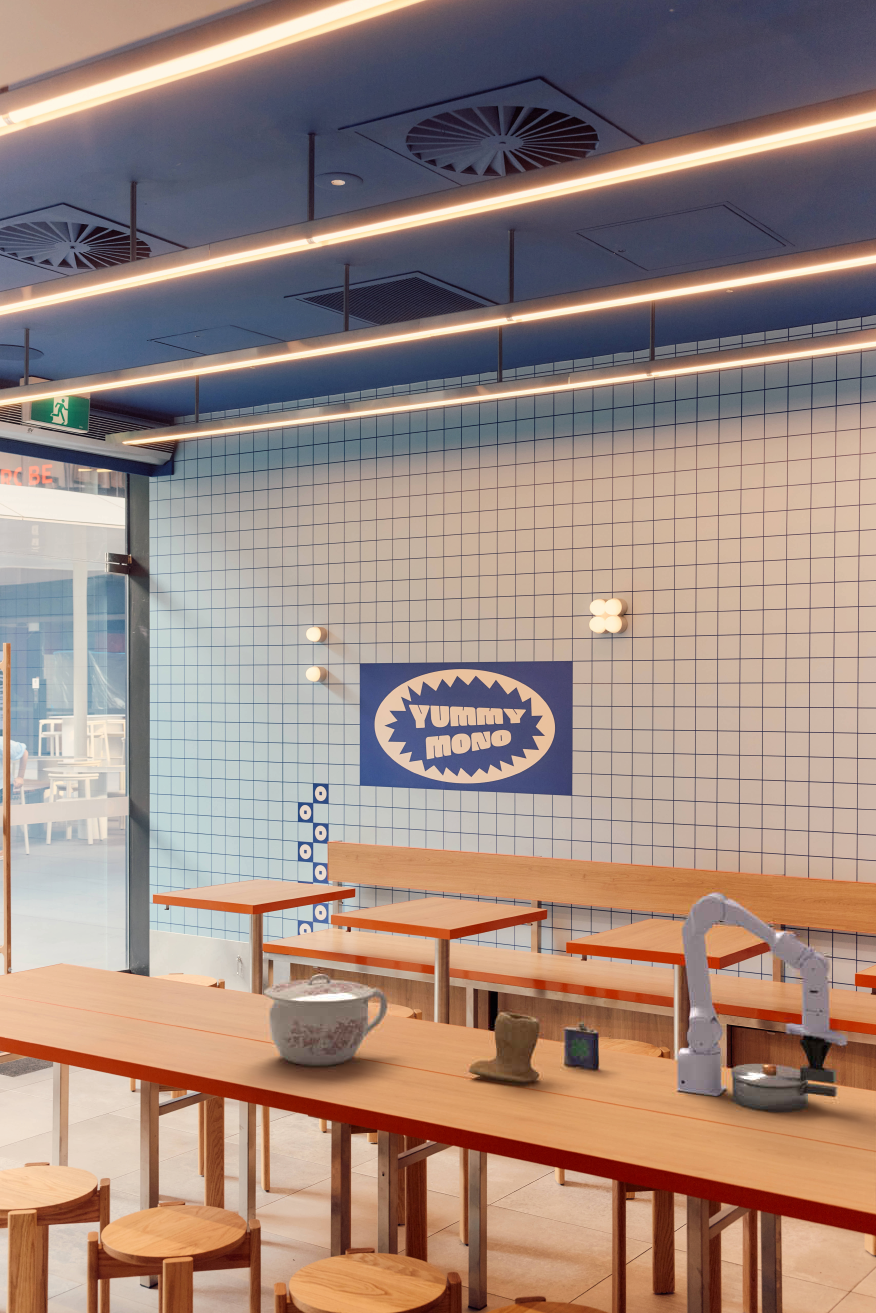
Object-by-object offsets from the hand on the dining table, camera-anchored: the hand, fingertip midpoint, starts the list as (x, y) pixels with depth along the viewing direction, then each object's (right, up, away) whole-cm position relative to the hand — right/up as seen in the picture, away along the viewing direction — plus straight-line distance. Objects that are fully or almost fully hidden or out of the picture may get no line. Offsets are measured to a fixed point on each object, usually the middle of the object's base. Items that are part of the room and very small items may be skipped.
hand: (816, 1072), depth 267 cm
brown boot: (-66, -8, +18) cm, 69 cm away
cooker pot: (-7, -7, -1) cm, 10 cm away
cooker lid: (-7, -1, -1) cm, 8 cm away
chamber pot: (-112, -8, +33) cm, 117 cm away
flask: (-48, -9, +29) cm, 57 cm away
